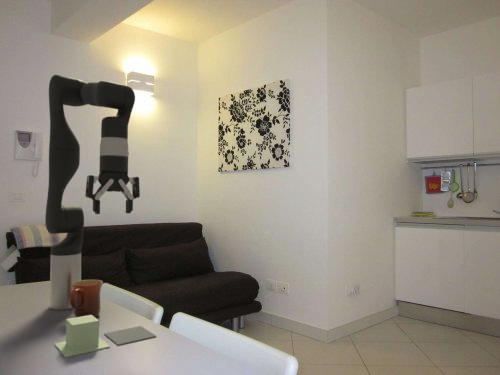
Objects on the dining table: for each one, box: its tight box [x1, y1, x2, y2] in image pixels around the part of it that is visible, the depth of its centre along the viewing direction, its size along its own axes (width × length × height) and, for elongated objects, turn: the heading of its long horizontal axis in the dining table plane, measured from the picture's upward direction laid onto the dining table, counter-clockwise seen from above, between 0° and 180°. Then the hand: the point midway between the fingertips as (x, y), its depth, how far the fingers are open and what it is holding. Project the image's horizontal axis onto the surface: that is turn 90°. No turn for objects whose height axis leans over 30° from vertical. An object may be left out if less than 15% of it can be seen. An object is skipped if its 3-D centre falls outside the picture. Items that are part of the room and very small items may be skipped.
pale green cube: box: [65, 315, 100, 351], centre depth 98 cm, size 6×6×6 cm
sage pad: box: [54, 336, 111, 358], centre depth 98 cm, size 10×10×1 cm
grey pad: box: [103, 325, 157, 346], centre depth 106 cm, size 10×10×1 cm
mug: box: [70, 279, 104, 318], centre depth 121 cm, size 12×9×10 cm
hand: (113, 213), depth 112 cm, fingers open, 8 cm apart
